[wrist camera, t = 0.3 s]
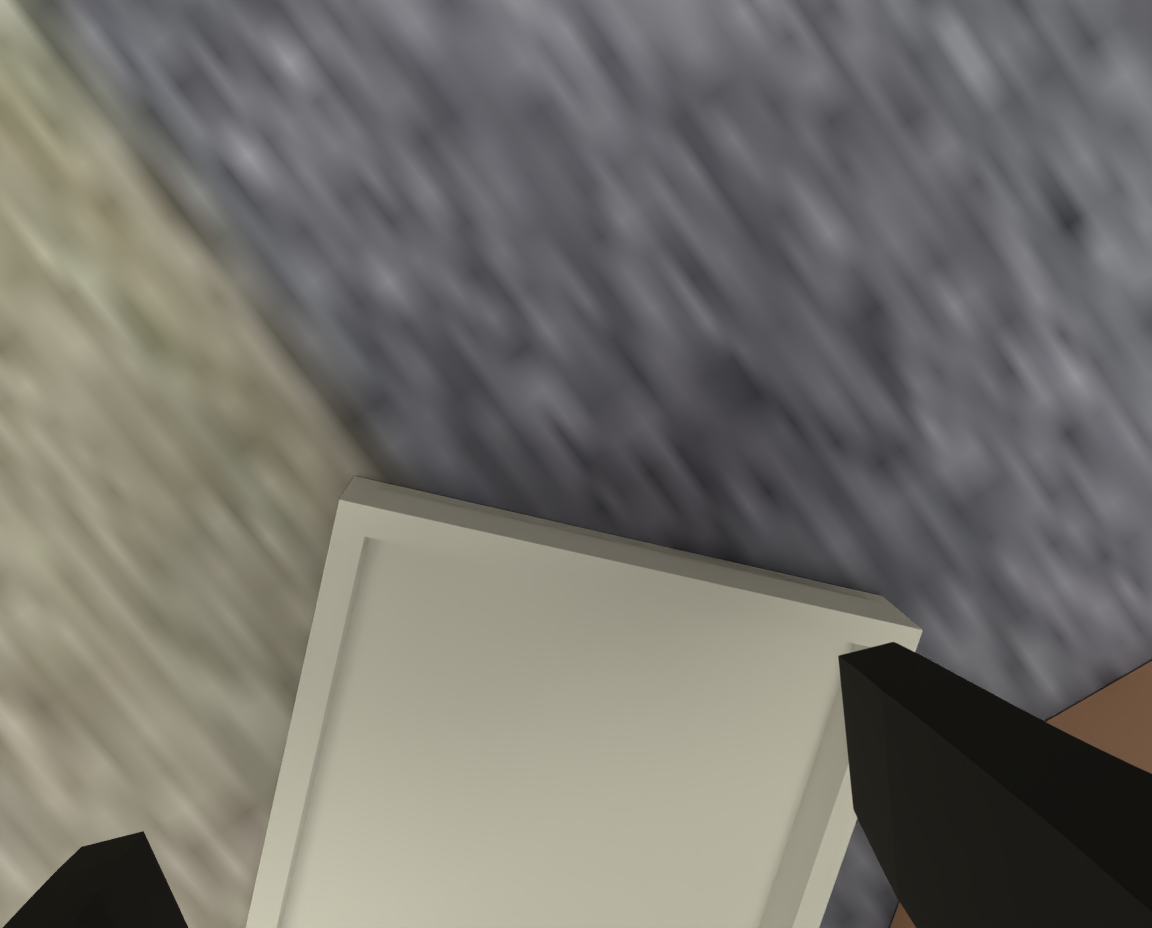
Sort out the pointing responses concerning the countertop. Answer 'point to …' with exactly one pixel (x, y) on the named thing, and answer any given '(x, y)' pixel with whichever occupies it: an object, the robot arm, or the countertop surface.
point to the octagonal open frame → (1104, 729)
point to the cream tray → (559, 730)
